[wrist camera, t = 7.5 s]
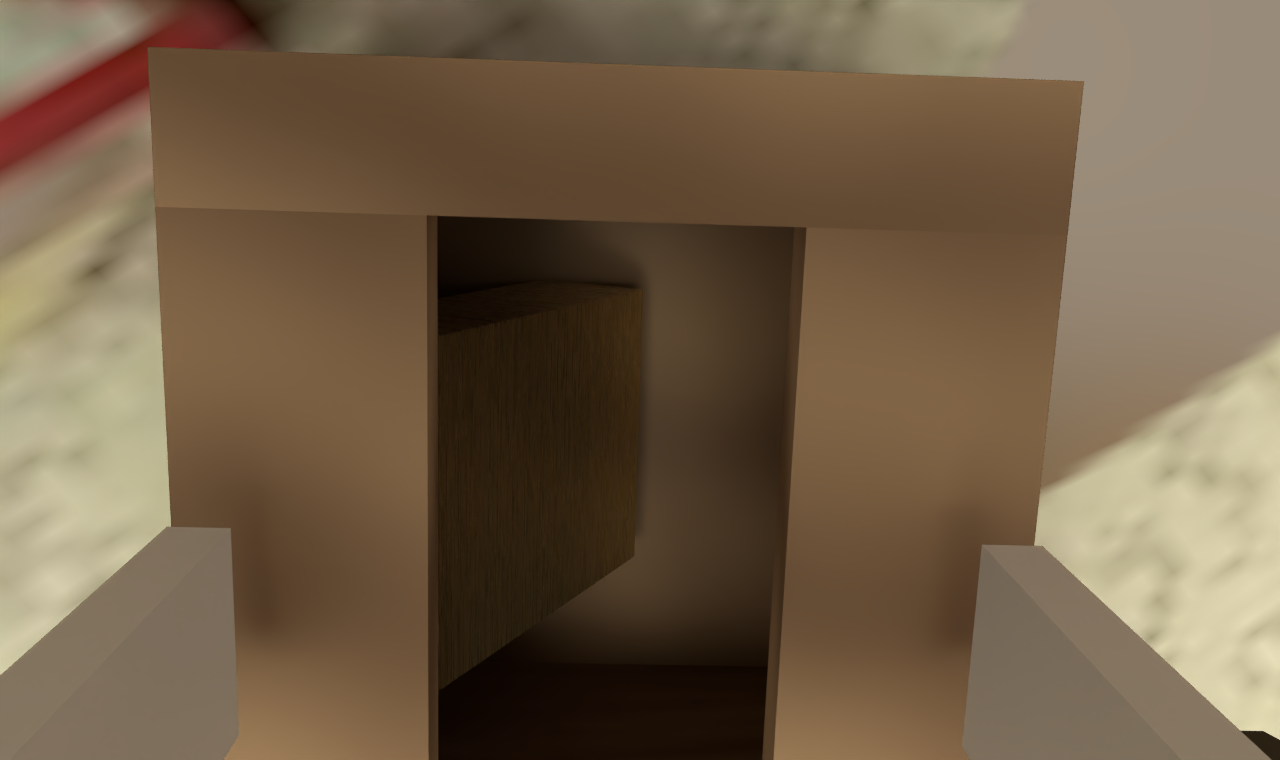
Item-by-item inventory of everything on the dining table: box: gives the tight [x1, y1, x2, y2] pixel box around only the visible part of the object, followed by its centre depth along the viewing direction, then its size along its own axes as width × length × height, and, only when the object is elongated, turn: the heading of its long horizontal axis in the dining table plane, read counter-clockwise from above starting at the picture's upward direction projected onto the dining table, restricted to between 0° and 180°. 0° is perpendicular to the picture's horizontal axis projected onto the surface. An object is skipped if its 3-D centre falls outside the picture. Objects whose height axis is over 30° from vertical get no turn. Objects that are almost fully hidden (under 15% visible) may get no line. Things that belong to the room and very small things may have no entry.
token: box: [438, 280, 643, 691], centre depth 22 cm, size 6×2×8 cm, turn 178°
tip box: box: [147, 47, 1084, 760], centre depth 22 cm, size 14×12×11 cm
